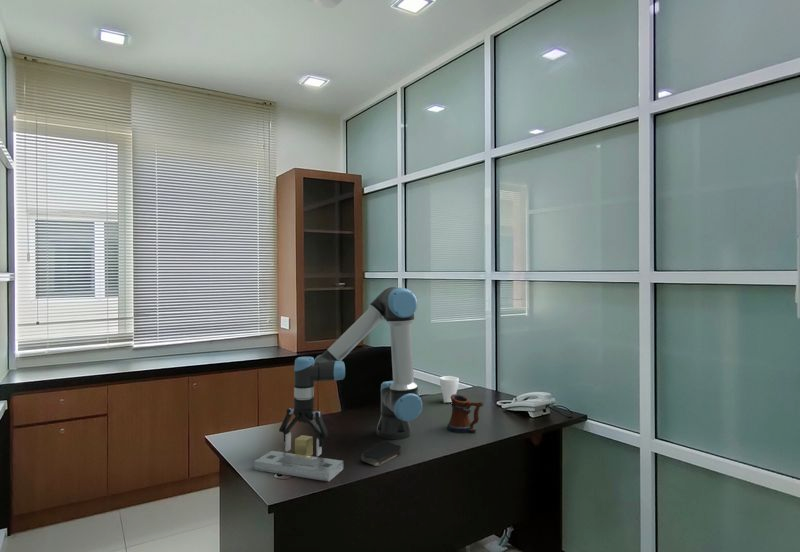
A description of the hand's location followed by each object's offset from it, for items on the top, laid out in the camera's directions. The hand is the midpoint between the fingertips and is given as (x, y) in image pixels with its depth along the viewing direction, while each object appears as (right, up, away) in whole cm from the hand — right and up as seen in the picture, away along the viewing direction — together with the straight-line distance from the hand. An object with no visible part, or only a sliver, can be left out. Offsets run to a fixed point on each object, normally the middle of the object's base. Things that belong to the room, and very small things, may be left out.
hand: (303, 452), depth 185 cm
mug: (+67, -2, +31) cm, 74 cm away
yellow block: (0, -1, 0) cm, 1 cm away
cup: (+64, -2, +78) cm, 101 cm away
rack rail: (+1, -1, -13) cm, 13 cm away
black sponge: (+30, -2, -2) cm, 30 cm away
